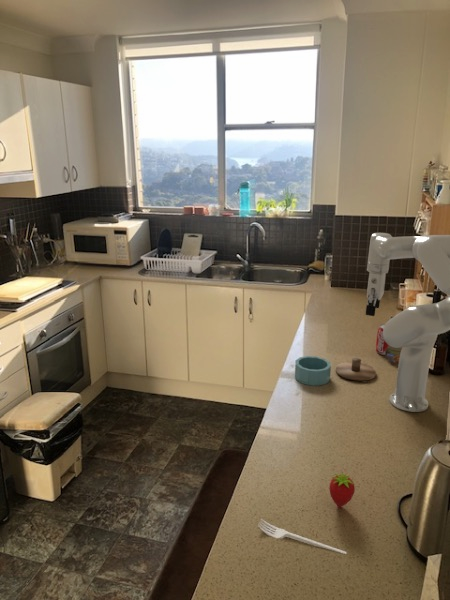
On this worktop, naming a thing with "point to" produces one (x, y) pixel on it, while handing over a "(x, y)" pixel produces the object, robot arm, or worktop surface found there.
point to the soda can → (381, 341)
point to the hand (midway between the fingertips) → (372, 311)
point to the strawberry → (341, 489)
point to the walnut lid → (355, 370)
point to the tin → (393, 354)
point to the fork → (292, 536)
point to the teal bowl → (312, 370)
